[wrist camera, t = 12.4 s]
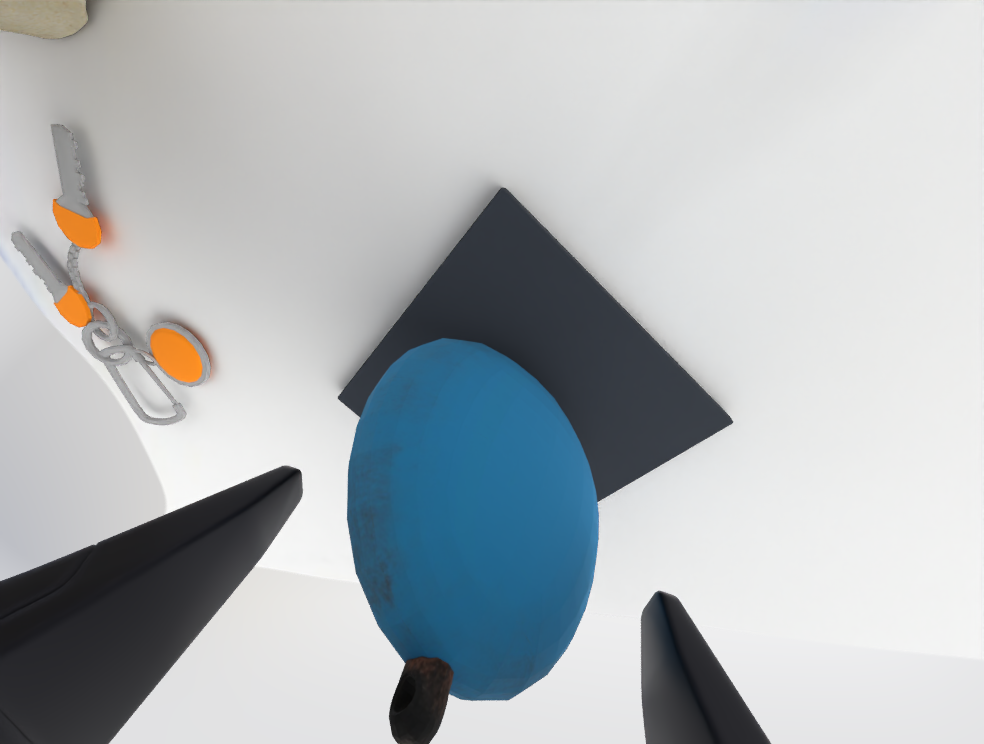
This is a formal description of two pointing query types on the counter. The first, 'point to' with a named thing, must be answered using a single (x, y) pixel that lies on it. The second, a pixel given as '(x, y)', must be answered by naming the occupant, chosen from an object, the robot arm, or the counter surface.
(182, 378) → the key chain
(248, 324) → the counter surface
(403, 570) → the ornament
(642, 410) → the mat
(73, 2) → the flower pot
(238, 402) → the counter surface
